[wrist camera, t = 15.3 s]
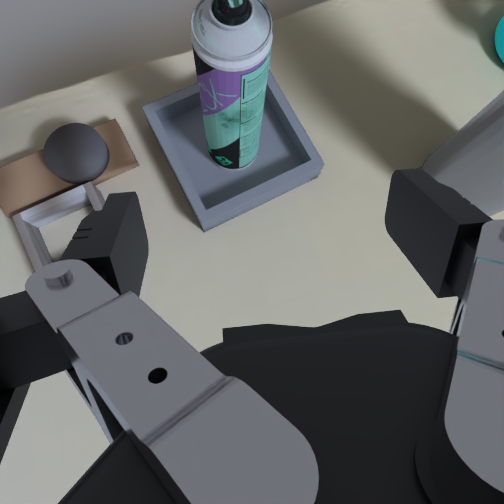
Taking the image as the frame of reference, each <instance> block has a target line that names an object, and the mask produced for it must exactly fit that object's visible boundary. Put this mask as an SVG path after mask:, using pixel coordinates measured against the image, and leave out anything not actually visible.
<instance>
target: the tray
mask: <svg viewBox="0 0 504 504" xmlns="http://www.w3.org/2000/svg"><path fill="white" fill-rule="evenodd" d="M142 109H143V111H144V113H145V116H146V118H147V121H148V123H149V125H150V127H151V129H152V131H153V133H154V135H155V137H156V139H157V141H158V143H159V145H160V147H161V149H162V151H163V153H164V155H165V157H166V159H167V160H168V162H169V164H170V166H171V168H172V170H173V172H174V174H175V176H176V178H177V180H178V182H179V184H180V186H181V188H182V190H183V192H184V194H185V196H186V198H187V200H188V202H189V204H190V205H191V207H192V209H193V211H194V213H195V215H196V217H197V219H198V221H199V223H200V225H201V227H202V229H203V231H204V232H206V231H208V230H210V229H212V228H214V227H216V226H218V225H220V224H222V223H224V222H226V221H229V220H231V219H233V218H235V217H237V216H239V215H241V214H243V213H245V212H247V211H249V210H251V209H253V208H255V207H257V206H259V205H261V204H264V203H266V202H268V201H270V200H272V199H274V198H276V197H278V196H280V195H282V194H284V193H286V192H288V191H290V190H292V189H294V188H296V187H299V186H301V185H303V184H305V183H307V182H309V181H311V180H313V179H315V178H317V177H318V175H319V174H320V172H321V170H322V168H323V166H324V162H323V160H322V159H321V157H320V155H319V153H318V152H317V150H316V148H315V147H314V145H313V143H312V142H311V140H310V138H309V136H308V135H307V133H306V131H305V130H304V128H303V126H302V125H301V123H300V121H299V119H298V118H297V116H296V114H295V113H294V111H293V109H292V107H291V106H290V104H289V102H288V101H287V99H286V97H285V96H284V94H283V92H282V90H281V89H280V87H279V85H278V84H277V82H276V80H275V79H274V77H273V75H272V73H271V72H270V70H268V78H267V85H266V93H265V101H264V108H263V116H262V124H261V131H260V139H259V147H258V152H257V156H256V158H255V160H254V162H253V163H252V164H251V165H250V166H249V167H247V168H245V169H244V170H241V171H235V172H232V171H226V170H223V169H221V168H219V167H218V166H216V165H215V164H214V163H213V161H212V160H211V158H210V156H209V153H208V147H207V140H206V133H205V127H204V120H203V113H202V106H201V100H200V93H199V86H198V83H197V84H194V85H192V86H190V87H187V88H185V89H183V90H180V91H178V92H176V93H173V94H171V95H168V96H166V97H164V98H161V99H159V100H157V101H154V102H152V103H150V104H147V105H145V106H143V107H142Z"/></svg>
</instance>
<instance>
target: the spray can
mask: <svg viewBox="0 0 504 504" xmlns="http://www.w3.org/2000/svg"><path fill="white" fill-rule="evenodd" d="M191 39H192V46H193V53H194V59H195V66H196V73H197V79H198V86H199V93H200V100H201V106H202V113H203V120H204V127H205V133H206V140H207V147H208V153H209V156H210V158H211V160H212V161H213V163H214V164H215V165H216V166H218V167H219V168H221V169H223V170H226V171H232V172H235V171H241V170H244V169H245V168H247V167H249V166H250V165H251V164H252V163H253V162H254V160H255V158H256V156H257V152H258V147H259V139H260V131H261V124H262V116H263V108H264V101H265V93H266V85H267V78H268V70H269V62H270V55H271V47H272V39H273V30H272V18H271V14H270V12H269V9H268V8H267V6H266V5H265V4H264V3H263V2H262V1H261V0H200V2H198V4H197V5H196V7H195V8H194V10H193V13H192V17H191Z"/></svg>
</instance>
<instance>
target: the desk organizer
mask: <svg viewBox="0 0 504 504" xmlns="http://www.w3.org/2000/svg"><path fill="white" fill-rule="evenodd" d="M137 166H139V164H138V162H137V160H136V158H135V156H134V154H133V152H132V150H131V148H130V146H129V144H128V142H127V140H126V138H125V136H124V134H123V132H122V130H121V128H120V126H119V124H118V122H117V121H116V119H113V120H110V121H108V122H106V123H103V124H101V125H99V126H96V127H94V128H92V127H90V126H88V125H85V124H80V123H73V124H67V125H64V126H62V127H60V128H58V129H57V130H55V131H54V132H53V133H52V134H51V135H50V136H49V138H48V139H47V141H46V143H45V146H44V149H43V150H40V151H38V152H36V153H33V154H31V155H29V156H26V157H24V158H22V159H19V160H17V161H15V162H12V163H10V164H8V165H5V166H3V167H0V205H1V207H2V210H3V212H4V214H5V216H7V217H9V218H11V219H13V220H14V223H15V225H16V227H17V230H18V232H19V234H20V237H21V239H22V241H23V244H24V246H25V249H26V251H27V253H28V256H29V258H30V260H31V263H32V265H33V267H34V270H35V272H36V271H37V270H38V269H40V268H42V267H44V266H46V265H48V264H51V263H53V261H52V259H51V256H50V254H49V252H48V249H47V247H46V245H45V242H44V240H43V238H42V235H41V233H40V231H39V229H38V228H39V227H41V226H44V225H46V224H48V223H50V222H52V221H55V220H57V219H59V218H61V217H63V216H66V215H68V214H70V213H72V212H74V211H77V210H79V209H81V208H83V207H85V206H88V205H90V204H92V206H93V208H94V210H95V211H99V210H102V208H103V206H104V204H105V201H104V198H103V196H102V194H101V192H100V191H99V190H98V189H97V188H96V187H95V185H97V184H99V183H101V182H104V181H106V180H108V179H110V178H113V177H115V176H117V175H119V174H121V173H124V172H126V171H128V170H130V169H133V168H135V167H137Z"/></svg>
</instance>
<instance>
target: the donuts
mask: <svg viewBox="0 0 504 504" xmlns="http://www.w3.org/2000/svg"><path fill="white" fill-rule="evenodd" d="M495 47H496V51H497V53H498V55H499V57H500V59H501V60H502V62H503V63H504V16H503V17H502V18H501V20H500V21H499V23H498V25H497V28H496V32H495Z"/></svg>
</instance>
